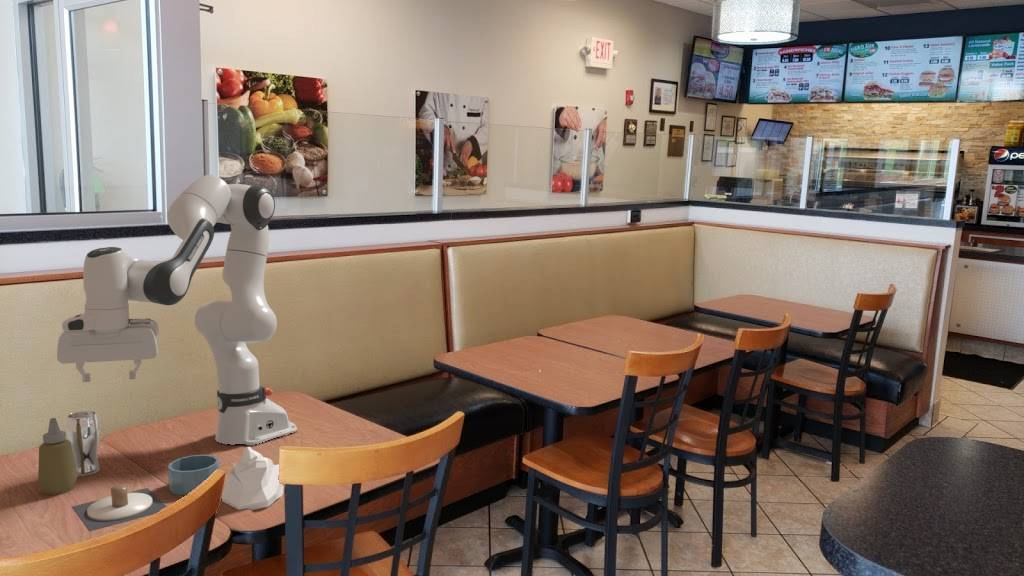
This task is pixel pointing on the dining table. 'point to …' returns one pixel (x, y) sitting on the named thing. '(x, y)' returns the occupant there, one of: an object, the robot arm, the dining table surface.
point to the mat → (97, 524)
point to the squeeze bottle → (56, 462)
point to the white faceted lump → (252, 482)
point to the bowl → (190, 472)
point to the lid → (119, 505)
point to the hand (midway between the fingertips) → (110, 380)
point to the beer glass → (84, 441)
